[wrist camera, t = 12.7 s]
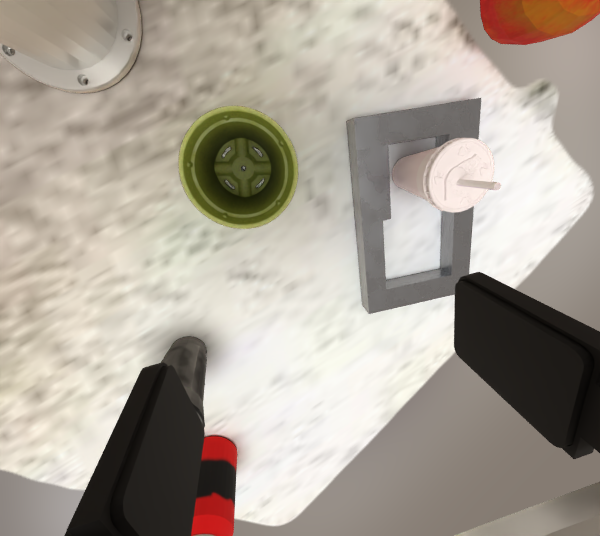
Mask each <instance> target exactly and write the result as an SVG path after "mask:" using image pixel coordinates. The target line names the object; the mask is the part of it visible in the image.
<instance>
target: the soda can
mask: <svg viewBox="0 0 600 536" xmlns="http://www.w3.org/2000/svg"><path fill="white" fill-rule="evenodd" d="M236 466H237V449H236V447H235V445H234V444H233V443H232V442H231V441H229V440H228V439H226V438H223V437H219V436H210V437H205V438H204V444H203V451H202V459H201V466H200V473H199V481H198V488H197V496H196V503H195V511H194V518H193V525H192V533H191V536H232V535H233V530H234V510H235V488H236Z"/></svg>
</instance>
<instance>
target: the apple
mask: <svg viewBox="0 0 600 536" xmlns="http://www.w3.org/2000/svg"><path fill="white" fill-rule="evenodd" d="M480 11H481V19H482V22H483V26H484V30H485V31H486V32H487V34H488V35H489V36H490V38H491V39H492V40H495V41H496V42H498V43H500V44H518V45H527V44H532V43H537V42H542V41H545V40H548V39H552V38H556V37H559V36H563V35H566V34H569V33H572V32H574V31H576V30H577V29H579V28H580V27H582V26H583V25H585V24H587V23H588V22H589V21H591V20H592V19H594V18H595V17H596V16H597V15H598V14H600V0H480Z"/></svg>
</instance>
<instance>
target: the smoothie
mask: <svg viewBox="0 0 600 536" xmlns="http://www.w3.org/2000/svg"><path fill="white" fill-rule="evenodd" d="M493 175H494V159H493V155H492V153H491V151H490V149H489V148H488V146H487V145H486V144H485V143H483V142H482V141H480V140H478V139H474V138H455V139H453V140H450V141H448V142H446V143H444V144H443V145H442V146H440V147H437V148H434V149H430V150H427V151H423V152H420V153H416V154H412V155H409V156H405V157H403V158H401V159H400V160H398V161H397V163H396V164H395V166H394V168H393V171H392V178H393V181H394V183H395V184H396V185H397V186H398V187H399V188H402V189H404V190H406V191H408V192H410V193H412V194H414V195H416V196H418V197H421V198H423V199H425V200H427V201H428V202H429V203H430V204H431V205H432V206H433V207H435V208H437V209H438V210H441V211H446V212H462V211H465V210H467V209H469V208H471V207H473V206H474V205H476V204H477V203H478V202H479V201H480V200H481V199H482V198H483V197H484V195H485V194H486V192H487V191H488V189H490V190H499V189H500V188H501V184H500V183H497V182H492V179H493Z"/></svg>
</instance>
